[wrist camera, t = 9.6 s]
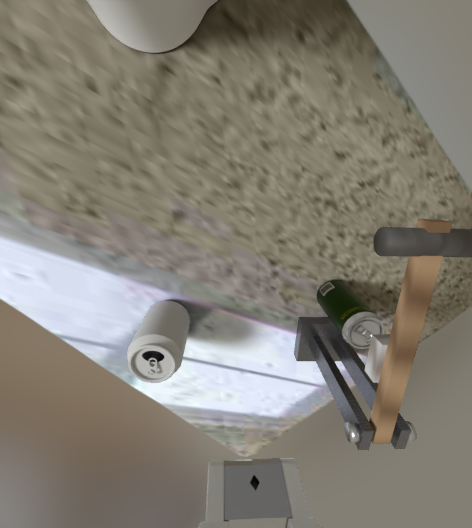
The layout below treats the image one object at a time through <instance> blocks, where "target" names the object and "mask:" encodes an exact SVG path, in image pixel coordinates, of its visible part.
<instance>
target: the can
mask: <svg viewBox="0 0 472 528" xmlns="http://www.w3.org/2000/svg"><path fill="white" fill-rule="evenodd" d="M189 325H190V316H189V314H188V312H187V310H186V309H185V308H184V307H183V306H182V305H180V304H179V303H177V302H173V301H160V302H157V303H155V304H154V305H152V306H151V307H150V309H149V310H148V312H147V313H146V315H145V317H144V319H143V321H142V323H141V325H140V327H139V329H138V331H137V333H136V335H135V336H134V338H133V340H132V342H131V344H130V346H129V348H128V353H127V357H128V364H129V369H130V370H131V372H132V374H133V375H134V376H136V377H137V378H138V379H140V380H142V381H145V382H150V383H158V382H162V381H165V380H167V379H168V378H170V377H171V376H172V375H173V373H175V372H176V371H177V370H178V368H179V367H180V366H181V362H182V359H183V354H184V349H185V344H186V339H187V335H188V330H189Z"/></svg>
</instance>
